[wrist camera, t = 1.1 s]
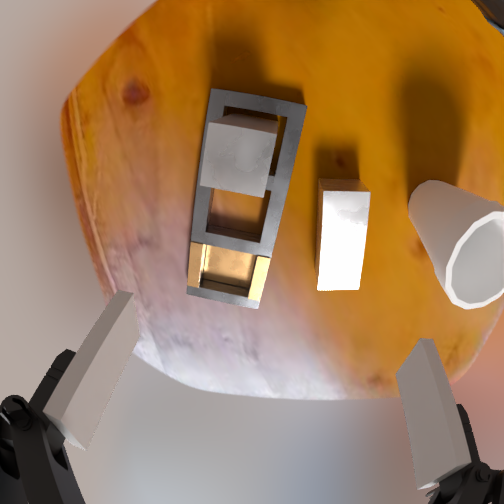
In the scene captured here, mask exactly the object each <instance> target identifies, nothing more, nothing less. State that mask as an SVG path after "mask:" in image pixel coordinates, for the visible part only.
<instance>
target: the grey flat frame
mask: <svg viewBox="0 0 504 504" xmlns="http://www.w3.org/2000/svg"><path fill="white" fill-rule="evenodd" d="M228 106H231V107H237V108H243V109H249V110H255V111H260V112H265V113H270V114H275V115H280V116H285V117H287V121H286V126H285V130H284V135H283V139H282V144H281V148H280V153H279V158H278V162H277V167H276V171H275V172H274V171H270V170H269V174H268V179H267V184H266V189H265V190H270V191H271V194H270V198H269V203H268V207H267V212H266V216H265V221H264V225H263V230H262V234H261V235H258V234H253V233H248V232H244V231H239V230H234V229H229V228H224V227H219V226H214V225H209V223H210V216H211V208H212V201H213V194H214V188H211V187H206V186H200V180H201V172H202V165H203V158H204V151H205V144H206V137H207V131H208V124H209V122H211V121H213V120H216V119H219V118H222V117H224V116H226V113H227V107H228ZM306 109H307V106H306V105H302V104H298V103H294V102H289V101H284V100H280V99H275V98H270V97H265V96H259V95H253V94H248V93H241V92H235V91H228V90H221V89H212V88H211V94H210V99H209V105H208V111H207V118H206V124H205V130H204V137H203V144H202V151H201V158H200V165H199V173H198V181H197V189H196V197H195V206H194V215H193V224H192V234H191V245H190V256H189V268H188V280H187V294H189V295H193V296H197V297H202V298H206V299H211V300H215V301H220V302H225V303H229V304H234V305H239V306H244V307H249V308H254V309H258V306H259V302H260V299H261V295H262V291H263V287H264V283H265V279H266V275H267V271H268V267H269V264H270V260H271V256H272V252H273V248H274V244H275V240H276V236H277V232H278V228H279V224H280V219H281V215H282V211H283V207H284V203H285V199H286V195H287V191H288V187H289V182H290V178H291V174H292V170H293V166H294V161H295V157H296V153H297V149H298V144H299V140H300V136H301V131H302V127H303V123H304V118H305V114H306ZM206 247H207V251H206ZM205 255H206V259H205ZM256 255H257V257H256ZM255 258H256V261H255ZM254 262H255V266H254ZM204 263H205V268H204ZM253 267H254V270H253ZM252 271H253V275H252ZM203 272H204V276H203ZM251 276H252V279H251ZM250 280H251V283H250ZM249 284H250V288H249Z"/></svg>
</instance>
